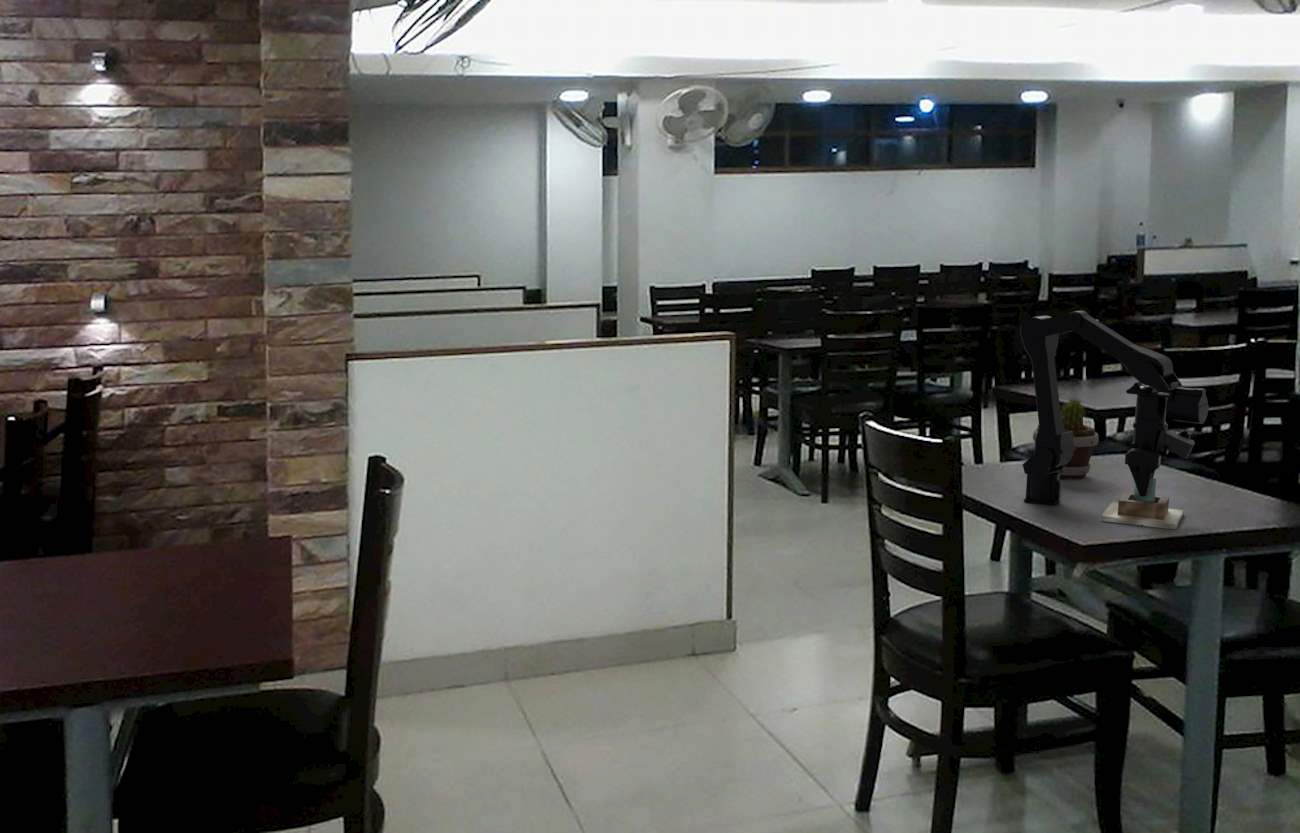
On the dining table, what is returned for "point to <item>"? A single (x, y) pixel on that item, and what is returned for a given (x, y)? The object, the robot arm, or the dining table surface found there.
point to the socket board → (1143, 512)
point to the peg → (1150, 492)
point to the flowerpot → (1076, 440)
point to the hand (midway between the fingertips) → (1144, 493)
